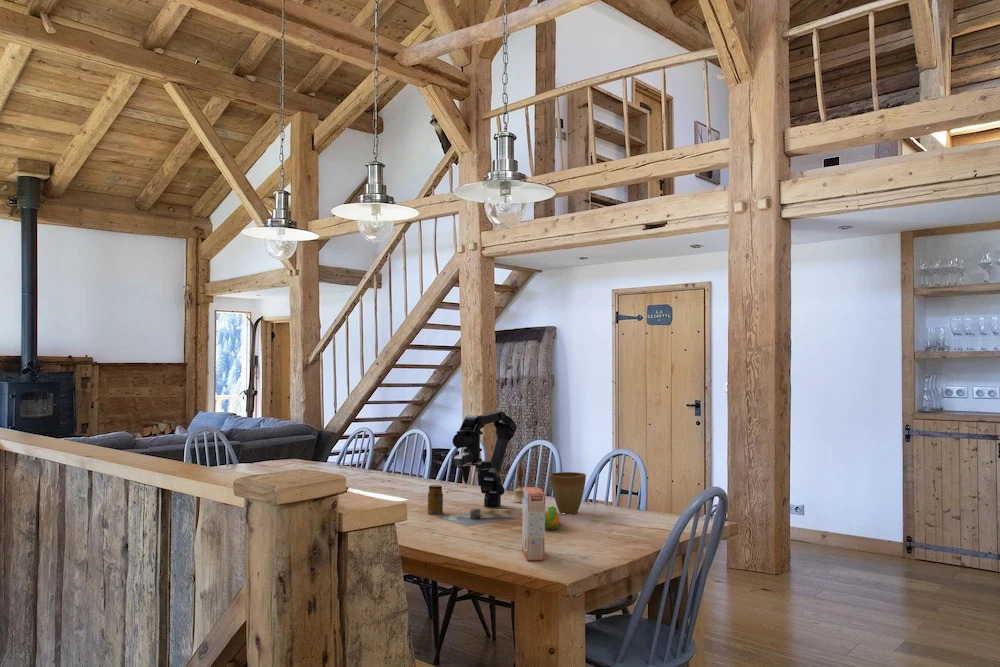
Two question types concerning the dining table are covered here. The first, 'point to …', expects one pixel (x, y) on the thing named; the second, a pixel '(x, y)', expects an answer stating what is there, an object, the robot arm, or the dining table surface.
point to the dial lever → (488, 513)
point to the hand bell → (519, 487)
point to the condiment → (435, 500)
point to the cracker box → (533, 524)
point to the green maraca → (551, 518)
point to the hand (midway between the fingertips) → (472, 484)
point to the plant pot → (568, 490)
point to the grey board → (472, 521)
